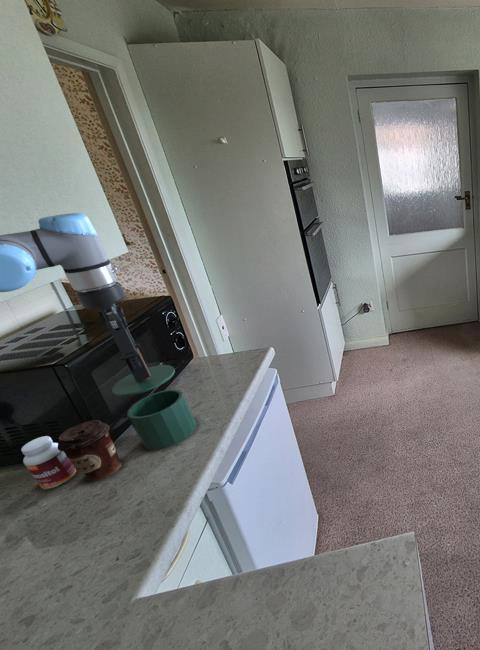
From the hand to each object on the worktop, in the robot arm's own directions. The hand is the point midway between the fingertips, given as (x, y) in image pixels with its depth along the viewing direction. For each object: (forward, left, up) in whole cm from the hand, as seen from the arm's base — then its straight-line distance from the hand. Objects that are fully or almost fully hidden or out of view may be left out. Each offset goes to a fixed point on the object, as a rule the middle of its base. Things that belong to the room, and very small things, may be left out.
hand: (142, 375), depth 93 cm
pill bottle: (-20, -9, -19) cm, 29 cm away
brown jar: (-10, -10, -19) cm, 24 cm away
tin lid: (0, 0, -1) cm, 1 cm away
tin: (0, 0, -19) cm, 19 cm away
